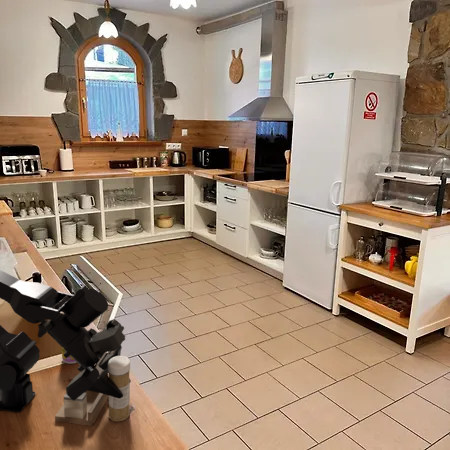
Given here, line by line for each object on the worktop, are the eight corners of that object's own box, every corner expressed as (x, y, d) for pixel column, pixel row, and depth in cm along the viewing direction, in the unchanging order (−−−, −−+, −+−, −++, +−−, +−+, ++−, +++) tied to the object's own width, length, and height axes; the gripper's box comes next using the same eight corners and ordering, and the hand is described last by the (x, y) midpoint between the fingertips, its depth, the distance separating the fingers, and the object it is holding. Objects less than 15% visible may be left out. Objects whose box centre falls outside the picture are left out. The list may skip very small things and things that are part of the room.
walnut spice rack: (55, 420, 89) (53, 396, 87) (80, 385, 100) (79, 363, 99) (91, 425, 88) (91, 401, 87) (112, 389, 100) (112, 367, 98)
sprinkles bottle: (110, 408, 94) (109, 354, 90) (131, 408, 94) (131, 354, 91) (106, 423, 89) (105, 367, 86) (128, 422, 90) (128, 367, 86)
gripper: (79, 339, 77) (138, 399, 79) (116, 296, 95) (163, 345, 97) (40, 372, 80) (98, 428, 82) (83, 324, 98) (129, 371, 100)
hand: (125, 390), depth 90 cm, fingers closed on sprinkles bottle, 4 cm apart
